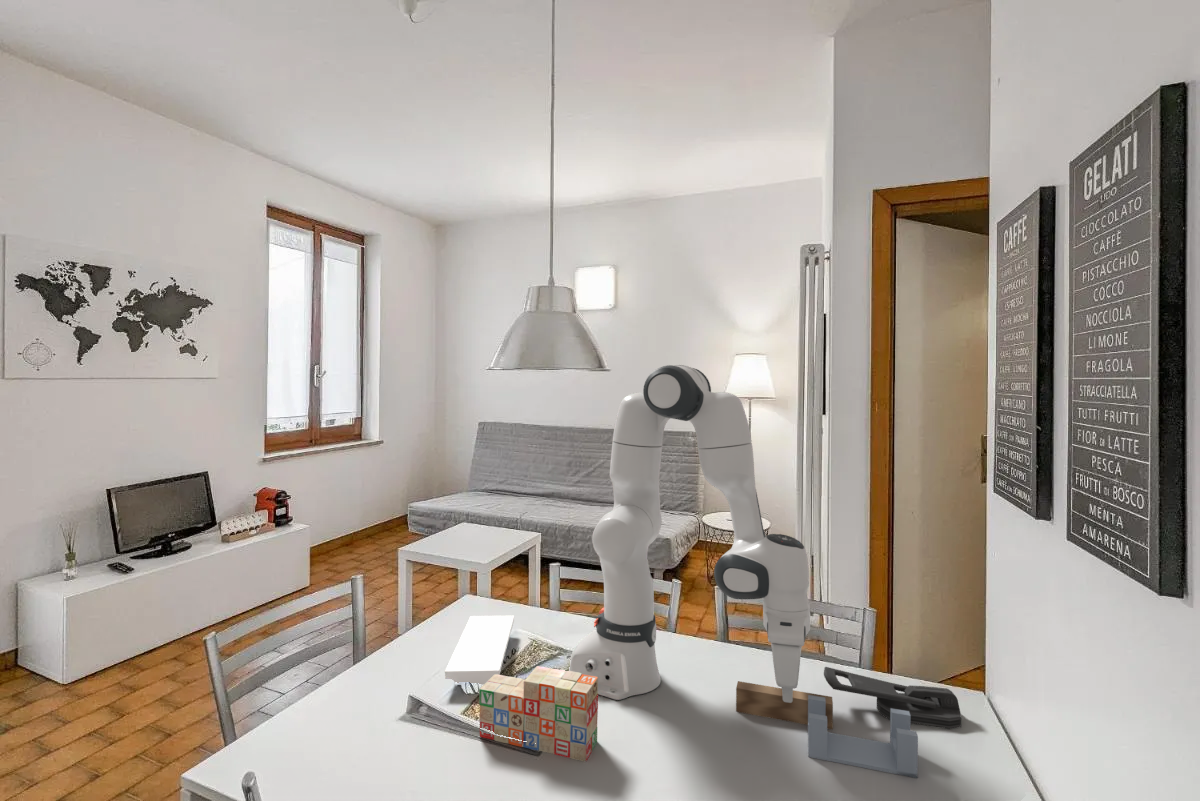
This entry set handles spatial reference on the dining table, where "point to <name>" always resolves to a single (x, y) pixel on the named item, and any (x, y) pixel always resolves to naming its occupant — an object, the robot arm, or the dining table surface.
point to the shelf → (480, 649)
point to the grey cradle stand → (864, 743)
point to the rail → (777, 703)
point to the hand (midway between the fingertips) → (787, 688)
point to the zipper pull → (903, 699)
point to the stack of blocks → (542, 711)
